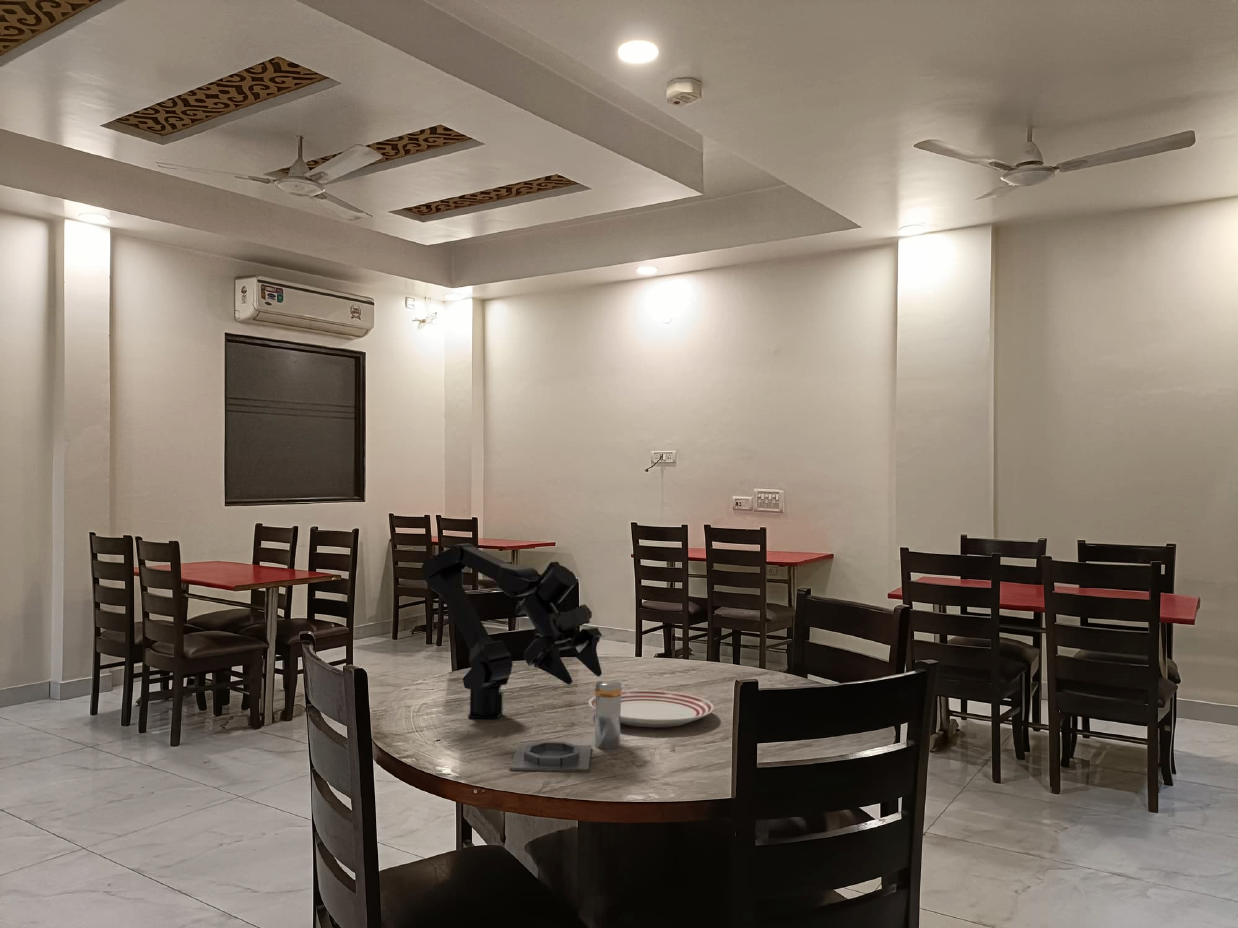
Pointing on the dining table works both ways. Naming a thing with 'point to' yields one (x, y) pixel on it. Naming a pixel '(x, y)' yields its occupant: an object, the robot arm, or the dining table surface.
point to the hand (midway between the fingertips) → (585, 679)
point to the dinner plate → (660, 708)
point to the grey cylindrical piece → (607, 714)
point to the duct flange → (552, 757)
